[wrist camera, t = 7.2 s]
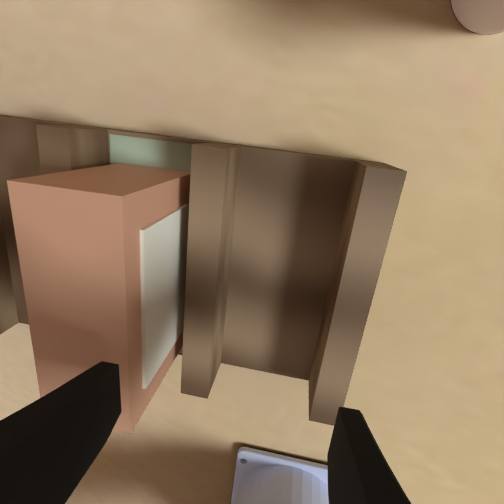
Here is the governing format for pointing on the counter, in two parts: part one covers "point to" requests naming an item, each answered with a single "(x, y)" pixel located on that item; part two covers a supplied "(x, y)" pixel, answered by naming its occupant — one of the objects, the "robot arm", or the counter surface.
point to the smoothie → (480, 15)
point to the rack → (240, 248)
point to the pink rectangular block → (104, 274)
